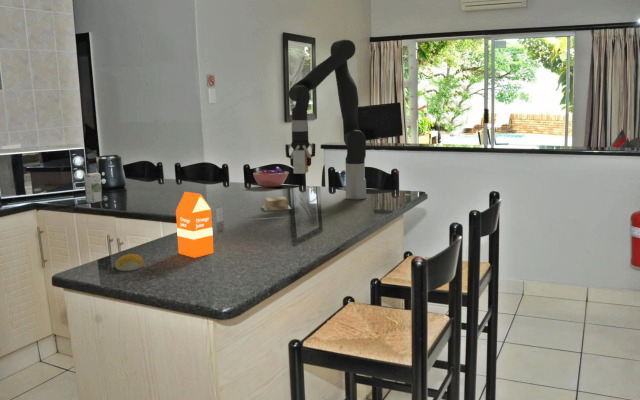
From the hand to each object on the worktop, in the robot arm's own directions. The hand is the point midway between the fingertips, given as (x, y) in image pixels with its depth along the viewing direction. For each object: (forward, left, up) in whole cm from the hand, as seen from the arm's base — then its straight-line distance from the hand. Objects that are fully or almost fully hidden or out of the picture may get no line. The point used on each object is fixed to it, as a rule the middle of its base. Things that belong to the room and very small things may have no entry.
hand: (300, 166), depth 269 cm
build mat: (+13, +7, -18) cm, 23 cm away
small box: (0, 0, -3) cm, 3 cm away
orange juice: (+49, +74, -18) cm, 90 cm away
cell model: (+6, -59, -18) cm, 62 cm away
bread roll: (+68, +84, -18) cm, 110 cm away
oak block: (+13, +7, -17) cm, 23 cm away
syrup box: (+98, -41, -18) cm, 108 cm away
